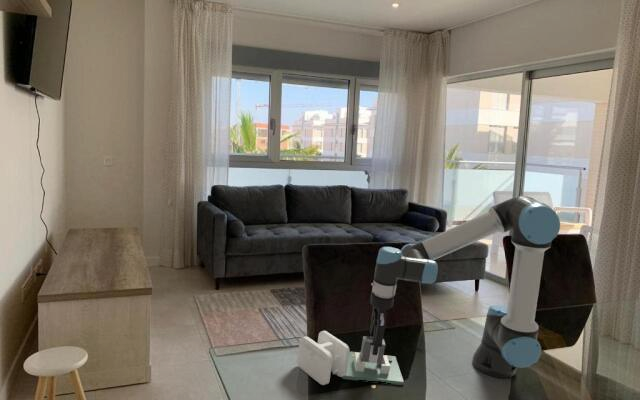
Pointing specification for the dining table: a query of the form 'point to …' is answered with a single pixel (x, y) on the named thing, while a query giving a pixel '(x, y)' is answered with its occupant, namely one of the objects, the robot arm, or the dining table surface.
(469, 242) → the robot arm
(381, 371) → the board
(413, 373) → the dining table surface
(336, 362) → the cable organizer
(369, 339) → the plug
